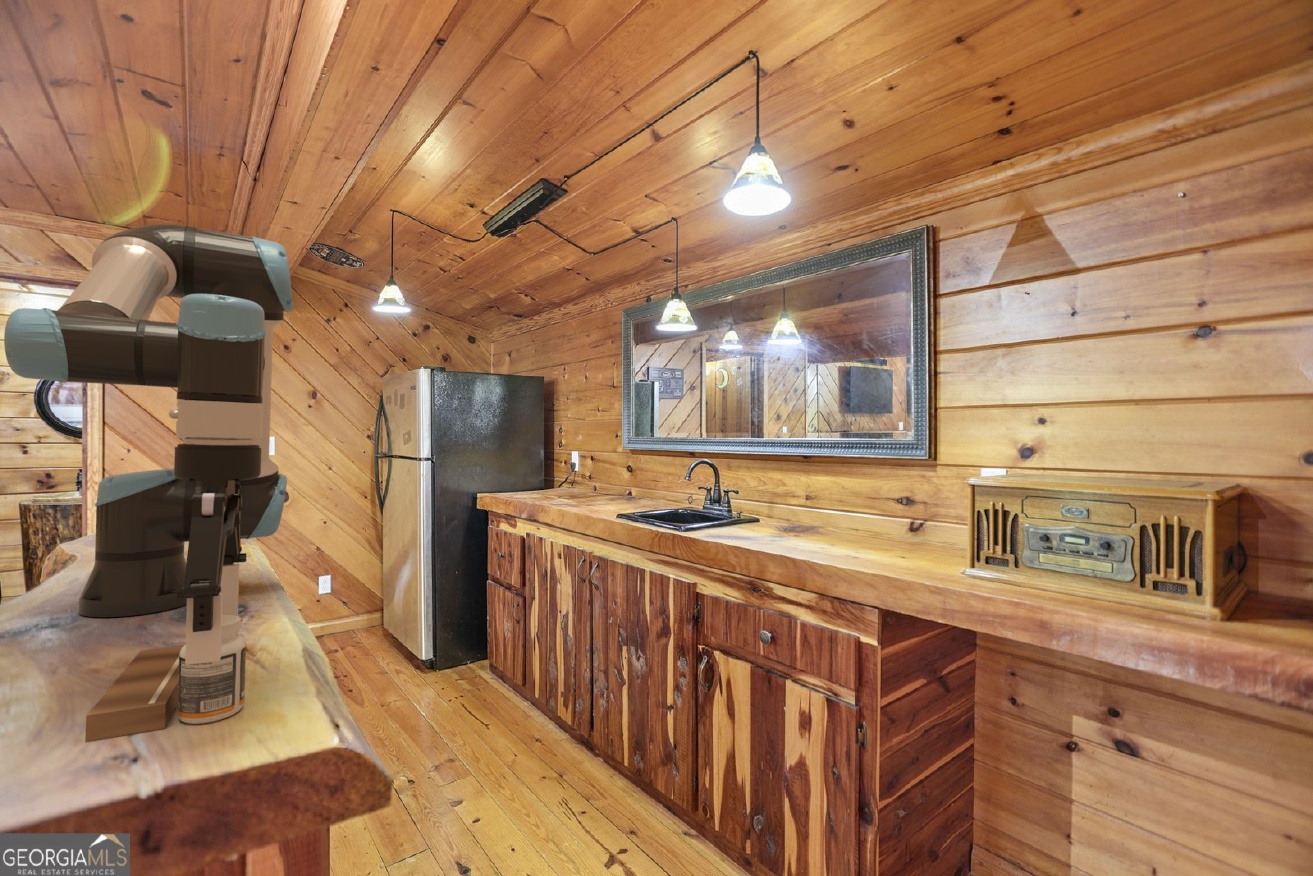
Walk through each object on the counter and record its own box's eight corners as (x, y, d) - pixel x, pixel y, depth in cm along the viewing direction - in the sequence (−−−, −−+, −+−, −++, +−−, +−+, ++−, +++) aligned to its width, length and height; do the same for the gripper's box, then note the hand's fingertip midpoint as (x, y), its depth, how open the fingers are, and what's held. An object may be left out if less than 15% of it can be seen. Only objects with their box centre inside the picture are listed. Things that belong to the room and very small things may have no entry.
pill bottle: (201, 702, 67) (203, 613, 67) (255, 701, 67) (257, 613, 67) (163, 726, 61) (166, 629, 61) (223, 725, 62) (226, 628, 62)
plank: (140, 670, 75) (141, 649, 75) (199, 662, 78) (200, 642, 78) (85, 741, 58) (86, 714, 58) (164, 728, 61) (165, 702, 61)
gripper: (197, 438, 73) (192, 610, 74) (144, 446, 52) (137, 691, 52) (270, 439, 77) (265, 604, 77) (249, 447, 55) (242, 676, 56)
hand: (214, 639), depth 65 cm, fingers open, 13 cm apart
